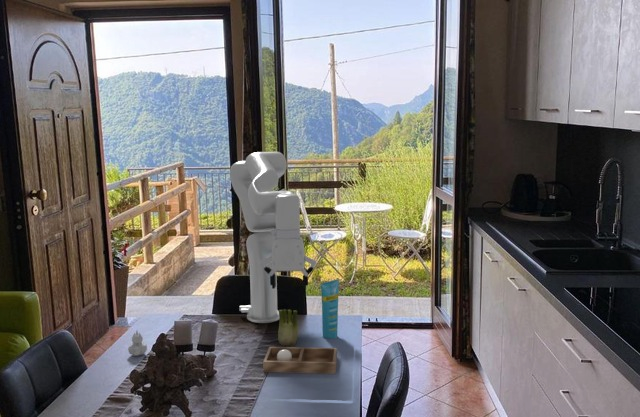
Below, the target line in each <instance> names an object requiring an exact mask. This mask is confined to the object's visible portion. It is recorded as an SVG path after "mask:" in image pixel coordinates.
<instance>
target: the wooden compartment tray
mask: <svg viewBox="0 0 640 417" xmlns="http://www.w3.org/2000/svg"><path fill="white" fill-rule="evenodd" d="M282 349H287V350H289V351H290V352H291V354H292V360H291V361H278V360H277V354H278V352H279V351H280V350H282ZM263 358H264V359H263V362H262V366H263V367H262V368H263V369H262V371H263V373H286V374H287V373H289V374H290V373H294V374H295V373H297V374H300V373H301V374H333V375H335V374H336V371H337V362H338V348H337V347H304V346H303V347H299V346H298V347H297V346H269V347H268V349H267V352H266V354H265V356H264V357H263Z"/></svg>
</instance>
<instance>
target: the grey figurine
mask: <svg viewBox="0 0 640 417" xmlns="http://www.w3.org/2000/svg"><path fill="white" fill-rule="evenodd" d="M143 340H144V339H143V335H142V334H141V332H139V331H138V330H136V332H133V335H132V337H131V341H132V343H131V344H130V345H129V346H128V353H129V354H130V355H132V356H135V357H136V356H137V357H139V356H142V355H144V354H145V353H146V352H147V350H148V345H147V344H146V342H144V341H143Z"/></svg>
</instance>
